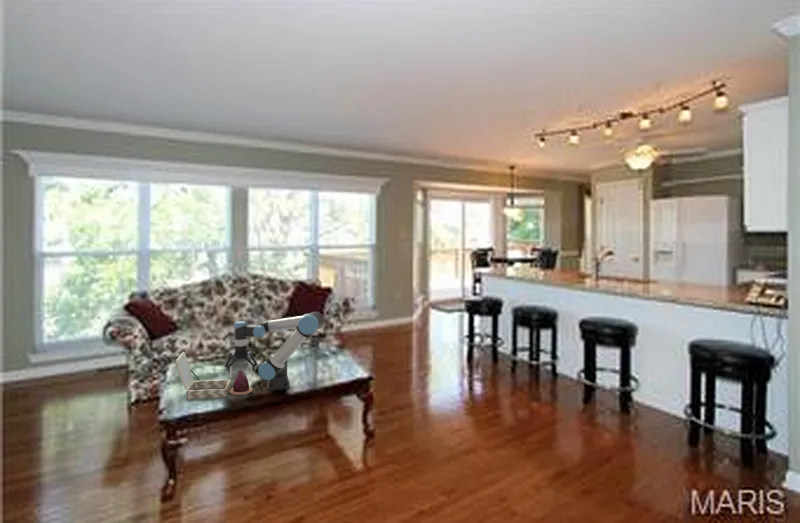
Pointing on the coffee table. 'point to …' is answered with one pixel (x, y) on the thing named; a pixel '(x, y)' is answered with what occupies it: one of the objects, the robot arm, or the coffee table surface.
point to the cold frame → (207, 384)
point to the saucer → (240, 392)
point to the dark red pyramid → (241, 382)
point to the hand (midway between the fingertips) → (241, 376)
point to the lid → (184, 370)
